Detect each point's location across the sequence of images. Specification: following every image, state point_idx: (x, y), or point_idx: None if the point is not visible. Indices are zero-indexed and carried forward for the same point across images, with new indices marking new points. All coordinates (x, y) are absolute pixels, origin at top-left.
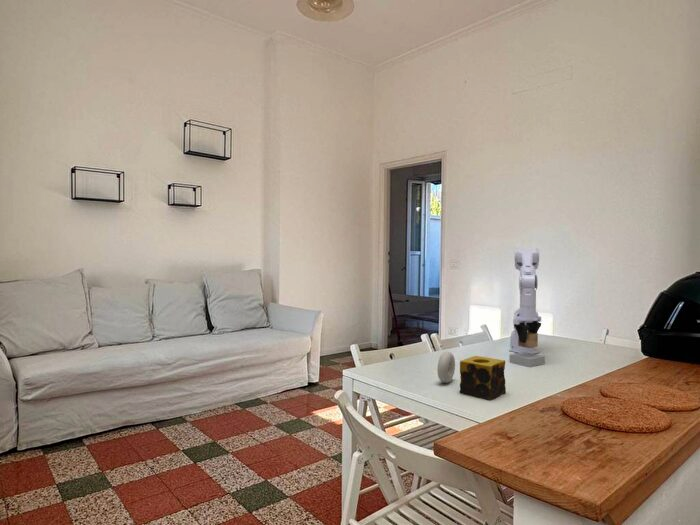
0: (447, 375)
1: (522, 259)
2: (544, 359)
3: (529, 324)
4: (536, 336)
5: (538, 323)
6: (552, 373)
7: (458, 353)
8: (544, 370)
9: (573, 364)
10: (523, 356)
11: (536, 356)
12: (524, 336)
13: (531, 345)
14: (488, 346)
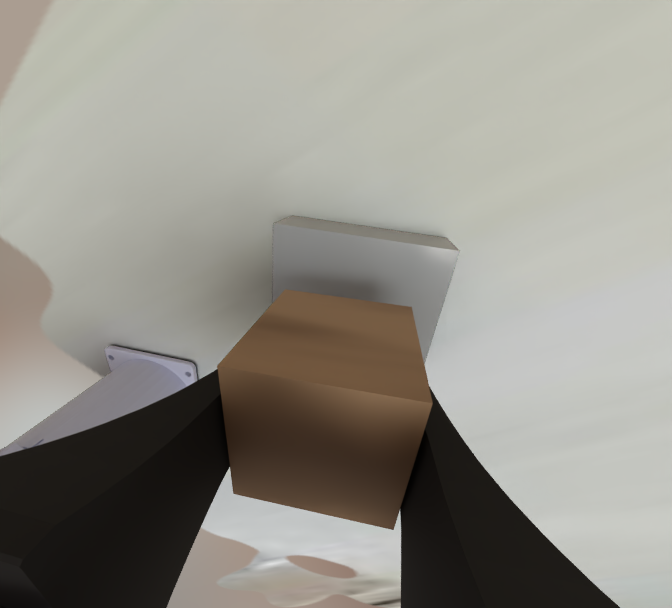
0: None
1: None
2: (284, 220)
3: (145, 601)
4: (268, 347)
5: (11, 565)
6: (534, 8)
7: None
8: (470, 119)
9: (135, 71)
10: None
11: (332, 260)
12: (456, 436)
13: (385, 314)
14: (211, 504)
